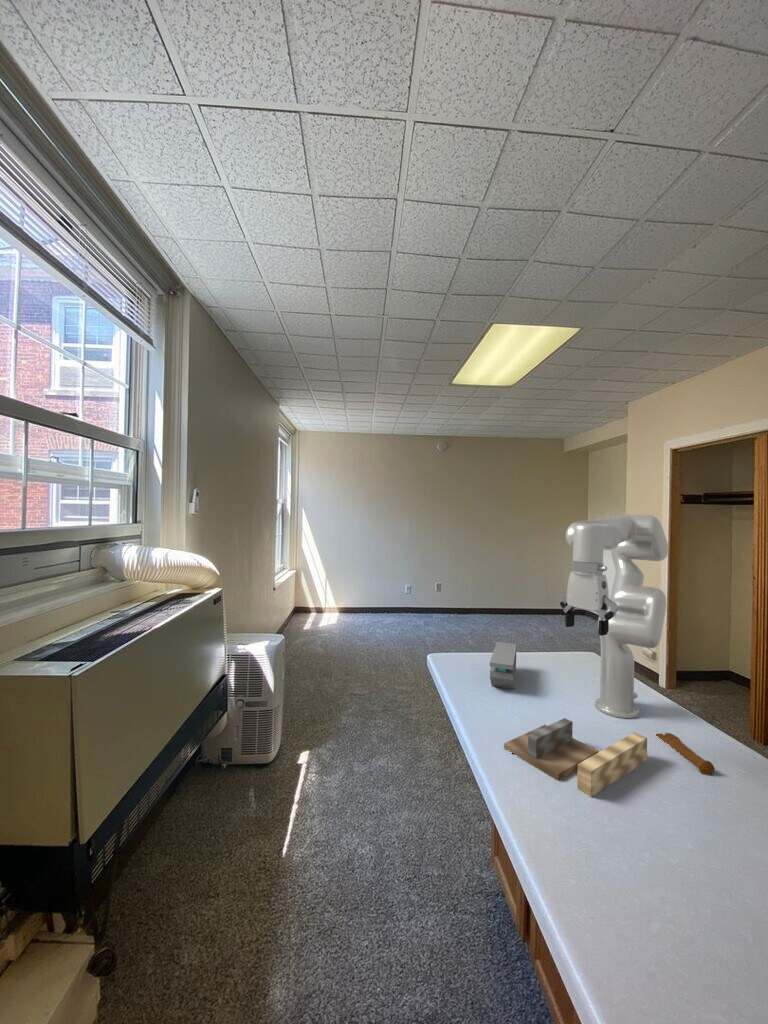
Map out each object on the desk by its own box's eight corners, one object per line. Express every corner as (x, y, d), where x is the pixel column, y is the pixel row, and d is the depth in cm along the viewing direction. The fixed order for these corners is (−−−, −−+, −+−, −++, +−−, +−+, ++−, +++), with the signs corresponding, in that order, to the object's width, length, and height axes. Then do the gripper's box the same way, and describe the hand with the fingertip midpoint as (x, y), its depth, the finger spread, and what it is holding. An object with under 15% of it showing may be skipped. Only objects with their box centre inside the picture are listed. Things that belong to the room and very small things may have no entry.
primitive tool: (652, 735, 122) (652, 722, 122) (671, 735, 122) (672, 723, 122) (701, 777, 103) (701, 762, 103) (723, 777, 103) (724, 763, 103)
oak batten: (633, 755, 112) (634, 732, 112) (646, 761, 109) (647, 737, 109) (577, 790, 97) (577, 764, 97) (590, 798, 94) (591, 771, 94)
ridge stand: (544, 729, 123) (545, 707, 123) (598, 756, 110) (599, 731, 110) (504, 748, 113) (504, 724, 113) (558, 780, 100) (558, 753, 100)
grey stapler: (496, 668, 171) (496, 641, 171) (516, 671, 169) (516, 644, 169) (489, 693, 148) (489, 662, 148) (512, 696, 145) (513, 665, 145)
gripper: (626, 571, 111) (625, 636, 111) (567, 564, 126) (565, 622, 125) (611, 572, 107) (609, 640, 107) (551, 565, 122) (549, 624, 121)
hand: (585, 630), depth 116 cm, fingers open, 9 cm apart
